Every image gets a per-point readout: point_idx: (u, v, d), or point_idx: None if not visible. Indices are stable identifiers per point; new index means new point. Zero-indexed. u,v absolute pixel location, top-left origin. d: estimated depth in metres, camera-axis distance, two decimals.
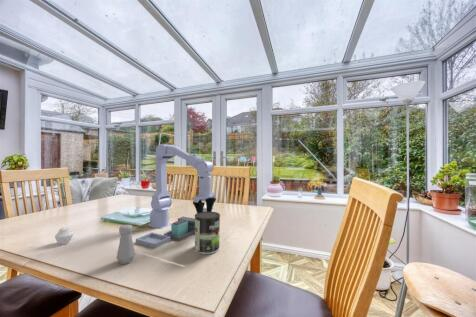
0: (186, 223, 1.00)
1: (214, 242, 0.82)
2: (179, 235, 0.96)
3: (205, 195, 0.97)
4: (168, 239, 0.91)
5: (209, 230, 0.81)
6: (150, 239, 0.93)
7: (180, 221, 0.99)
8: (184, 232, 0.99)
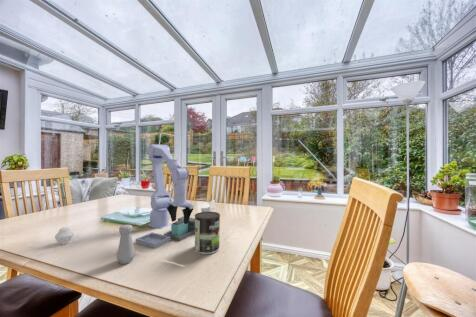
0: None
1: (214, 242, 0.82)
2: (179, 235, 0.96)
3: (173, 202, 0.98)
4: (168, 239, 0.91)
5: (209, 230, 0.81)
6: (150, 239, 0.93)
7: (180, 221, 0.99)
8: (184, 232, 0.99)
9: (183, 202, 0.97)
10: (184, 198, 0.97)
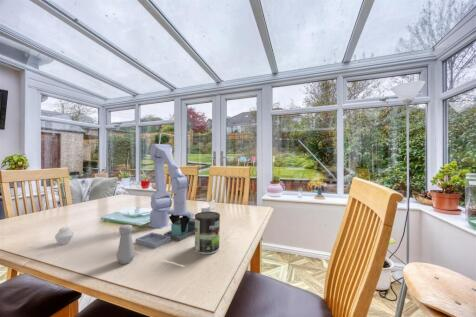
0: None
1: (214, 242, 0.82)
2: (179, 235, 0.96)
3: (173, 210, 0.98)
4: (168, 239, 0.91)
5: (209, 230, 0.81)
6: (150, 239, 0.93)
7: None
8: (184, 232, 0.99)
9: (183, 211, 0.97)
10: (184, 207, 0.97)
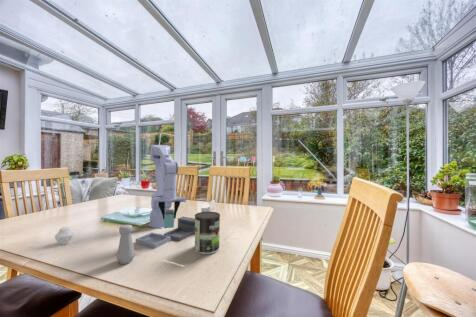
0: None
1: (214, 242, 0.82)
2: (173, 224, 0.94)
3: (164, 198, 0.93)
4: (168, 239, 0.91)
5: (209, 230, 0.81)
6: (150, 239, 0.93)
7: (169, 211, 0.96)
8: None
9: (175, 196, 0.95)
10: None
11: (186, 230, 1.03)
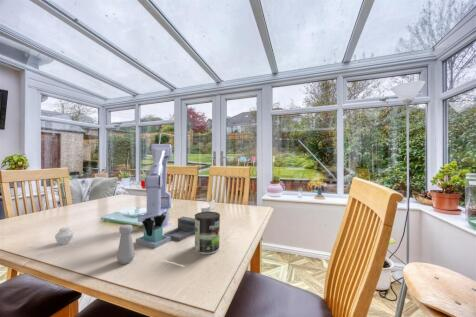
0: None
1: (214, 242, 0.82)
2: None
3: (152, 213, 0.88)
4: (168, 239, 0.91)
5: (209, 230, 0.81)
6: None
7: None
8: None
9: None
10: None
11: (186, 230, 1.03)
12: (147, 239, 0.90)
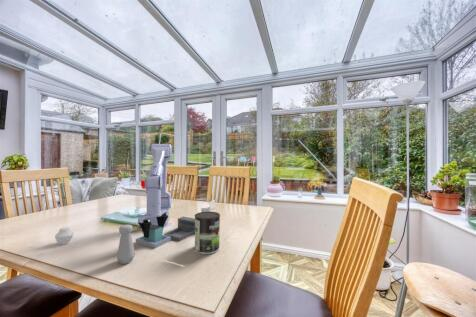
0: None
1: (214, 242, 0.82)
2: None
3: (152, 214, 0.88)
4: (168, 239, 0.91)
5: (209, 230, 0.81)
6: None
7: (152, 226, 0.91)
8: None
9: None
10: None
11: (186, 230, 1.03)
12: (147, 239, 0.90)
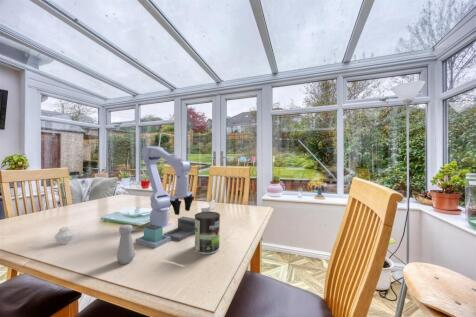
0: None
1: (214, 242, 0.82)
2: None
3: (182, 194, 1.00)
4: (168, 239, 0.91)
5: (209, 230, 0.81)
6: None
7: (152, 226, 0.91)
8: None
9: None
10: None
11: (186, 230, 1.03)
12: (147, 239, 0.90)
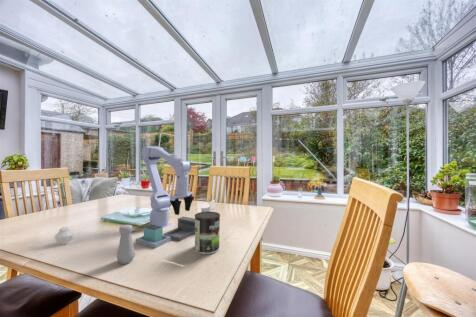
0: None
1: (214, 242, 0.82)
2: None
3: (182, 194, 1.00)
4: (168, 239, 0.91)
5: (209, 230, 0.81)
6: None
7: (152, 226, 0.91)
8: None
9: None
10: None
11: (186, 230, 1.03)
12: (147, 239, 0.90)
